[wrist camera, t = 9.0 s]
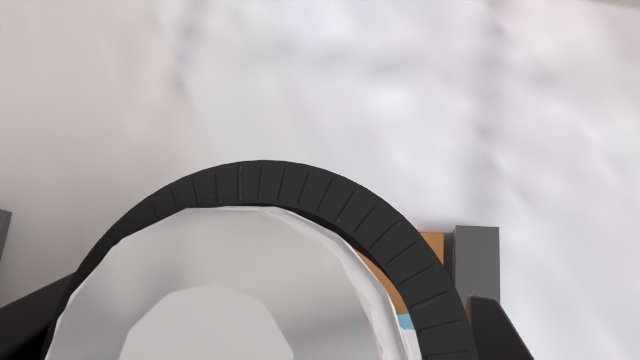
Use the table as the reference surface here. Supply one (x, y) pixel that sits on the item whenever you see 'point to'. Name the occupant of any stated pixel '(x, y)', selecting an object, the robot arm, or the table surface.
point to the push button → (260, 276)
